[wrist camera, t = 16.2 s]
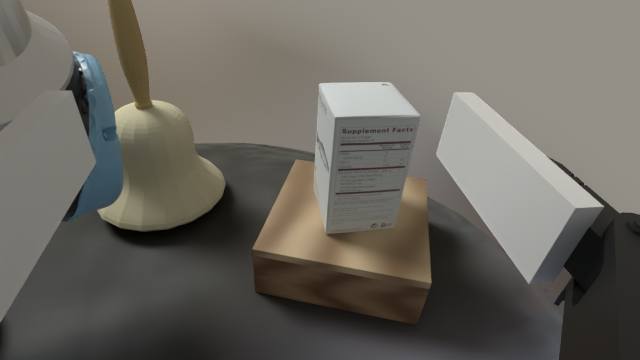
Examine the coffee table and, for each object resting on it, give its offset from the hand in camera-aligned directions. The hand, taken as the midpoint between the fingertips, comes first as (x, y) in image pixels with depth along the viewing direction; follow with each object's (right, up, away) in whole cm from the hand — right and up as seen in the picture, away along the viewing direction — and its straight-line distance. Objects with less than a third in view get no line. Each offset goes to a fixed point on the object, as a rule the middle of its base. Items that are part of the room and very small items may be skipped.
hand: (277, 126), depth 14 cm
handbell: (-18, -5, +35) cm, 40 cm away
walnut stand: (+4, -10, +29) cm, 31 cm away
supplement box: (+5, -5, +26) cm, 27 cm away
